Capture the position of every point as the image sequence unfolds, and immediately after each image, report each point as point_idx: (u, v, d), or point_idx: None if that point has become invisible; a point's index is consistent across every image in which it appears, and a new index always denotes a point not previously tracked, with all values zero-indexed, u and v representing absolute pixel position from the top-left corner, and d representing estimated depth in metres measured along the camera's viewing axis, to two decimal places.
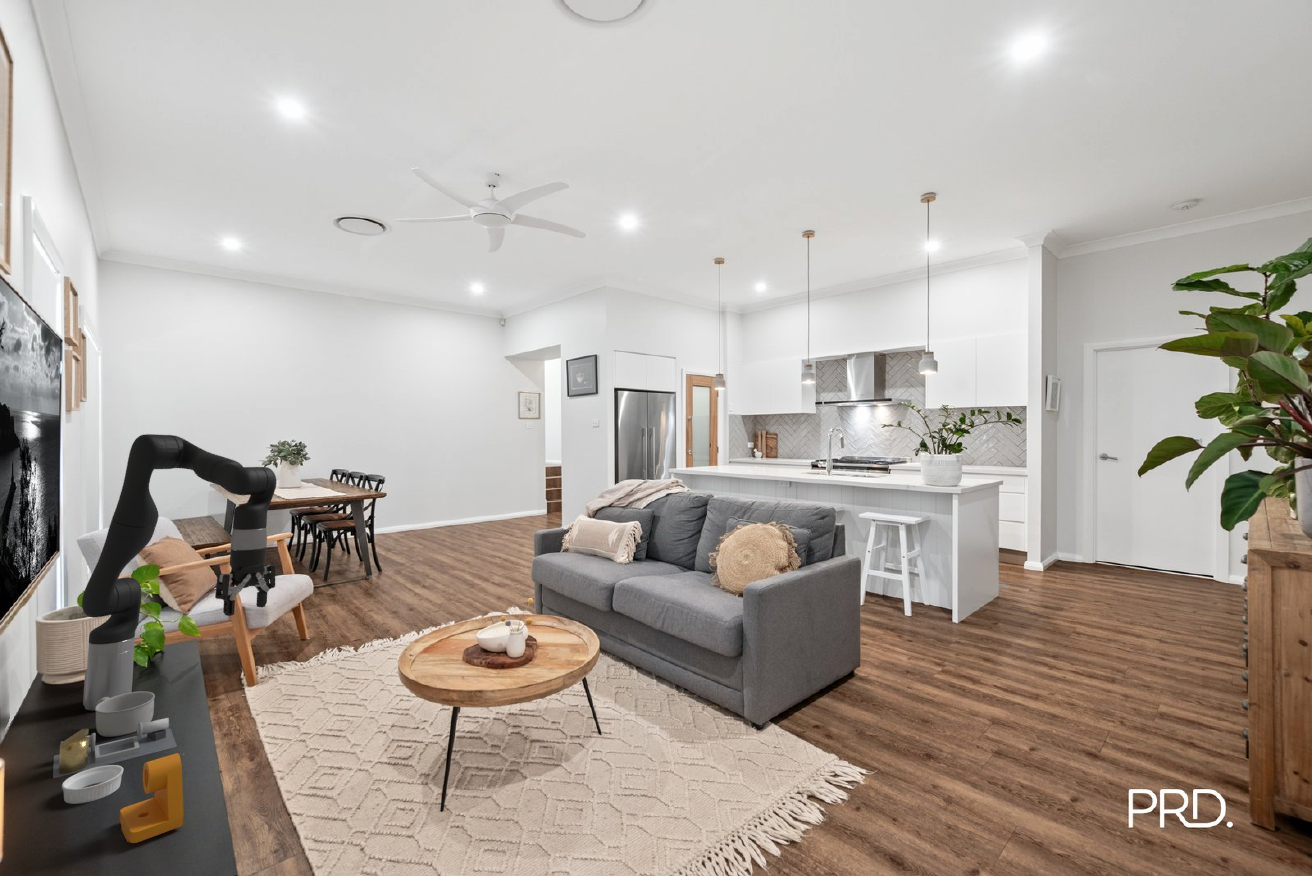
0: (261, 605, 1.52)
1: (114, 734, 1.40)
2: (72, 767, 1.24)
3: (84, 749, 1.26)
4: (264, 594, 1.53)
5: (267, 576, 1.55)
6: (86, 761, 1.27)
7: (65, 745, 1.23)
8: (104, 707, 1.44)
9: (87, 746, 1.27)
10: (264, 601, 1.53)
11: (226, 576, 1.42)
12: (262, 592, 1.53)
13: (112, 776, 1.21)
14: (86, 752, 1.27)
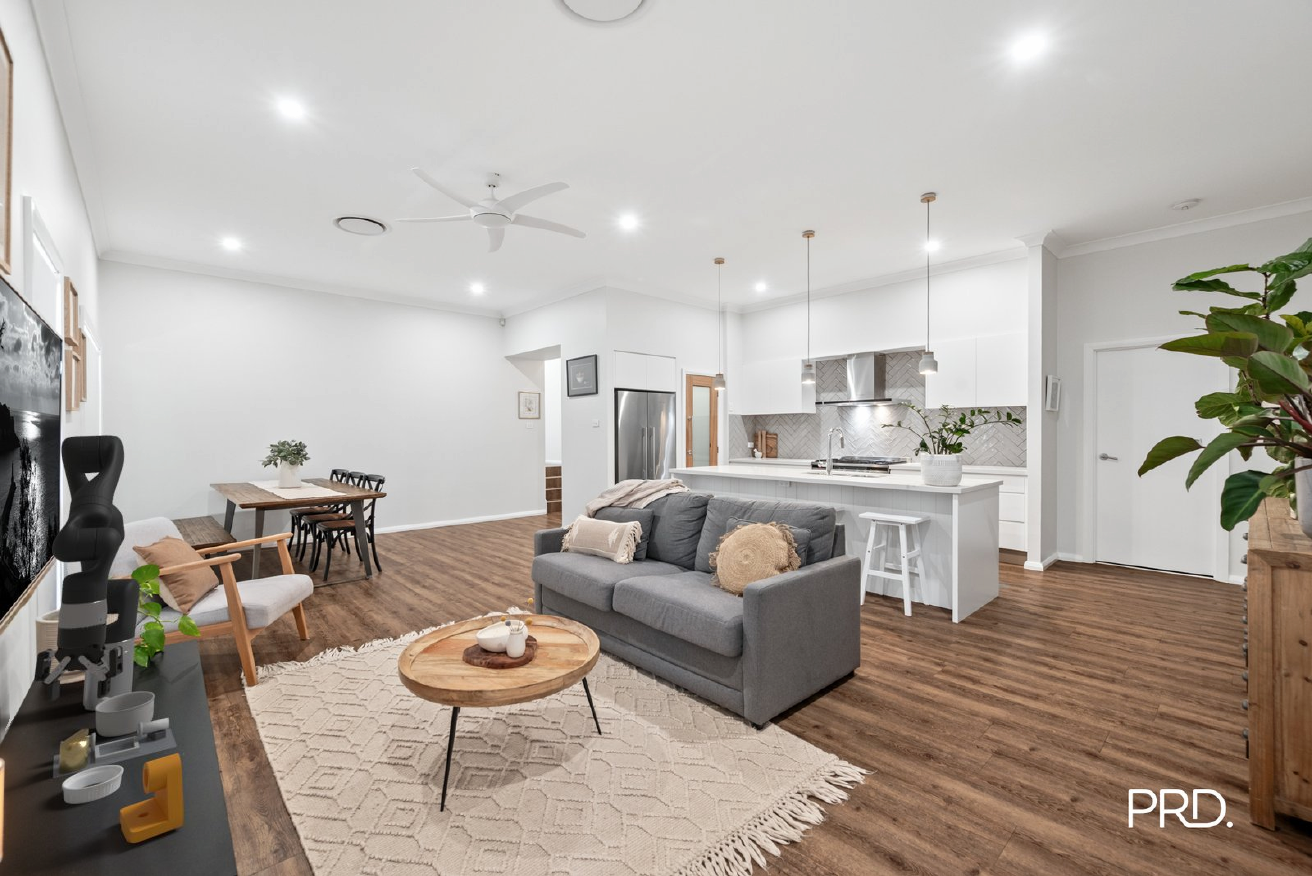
0: (57, 696, 1.26)
1: (114, 734, 1.40)
2: (72, 767, 1.24)
3: (84, 749, 1.26)
4: None
5: (47, 664, 1.25)
6: (86, 761, 1.27)
7: (65, 745, 1.23)
8: (104, 707, 1.44)
9: (87, 746, 1.27)
10: None
11: None
12: (57, 680, 1.26)
13: (112, 776, 1.21)
14: (86, 752, 1.27)
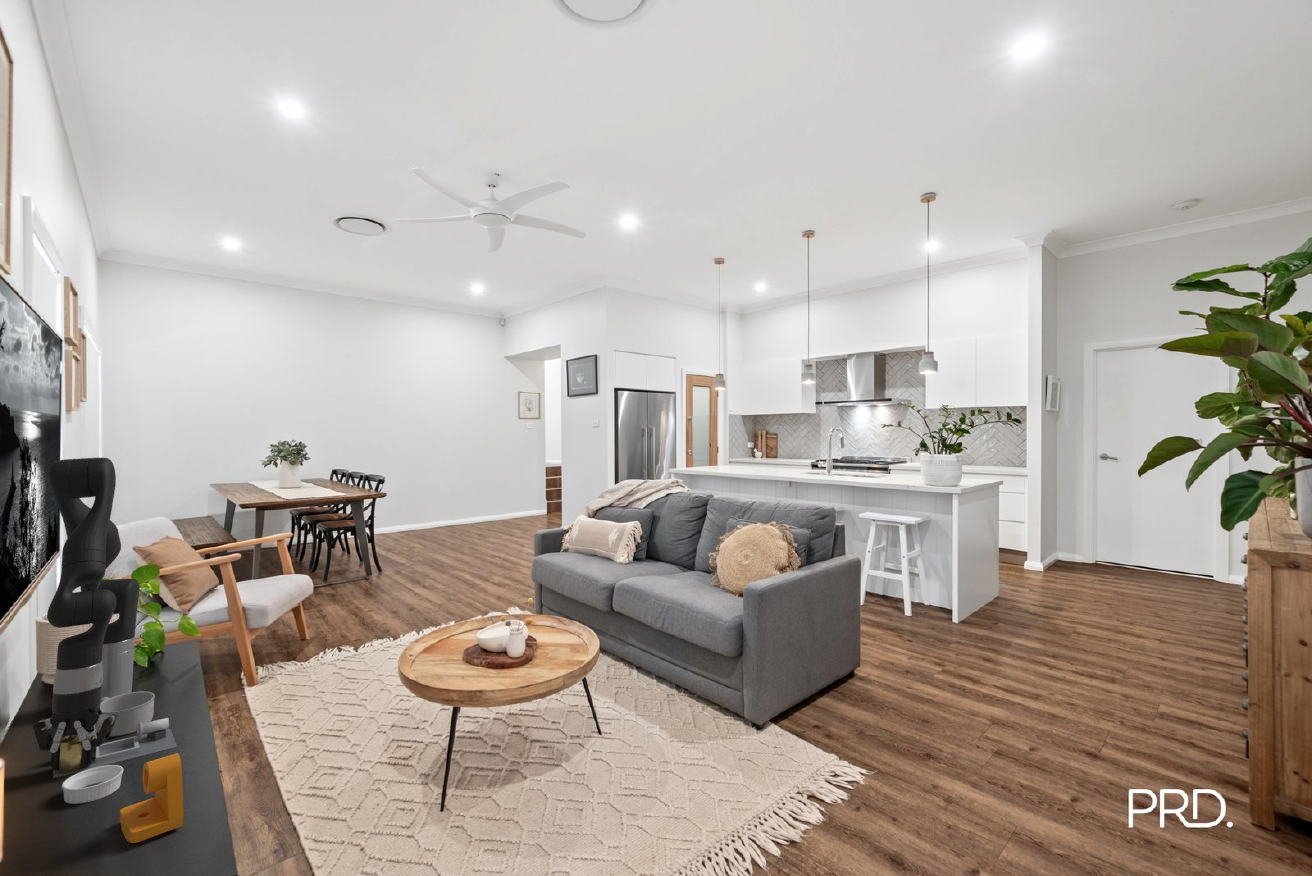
0: None
1: (114, 734, 1.40)
2: (72, 767, 1.24)
3: (84, 749, 1.26)
4: None
5: (47, 732, 1.25)
6: None
7: (65, 745, 1.23)
8: (104, 707, 1.44)
9: None
10: None
11: None
12: None
13: (112, 776, 1.21)
14: None
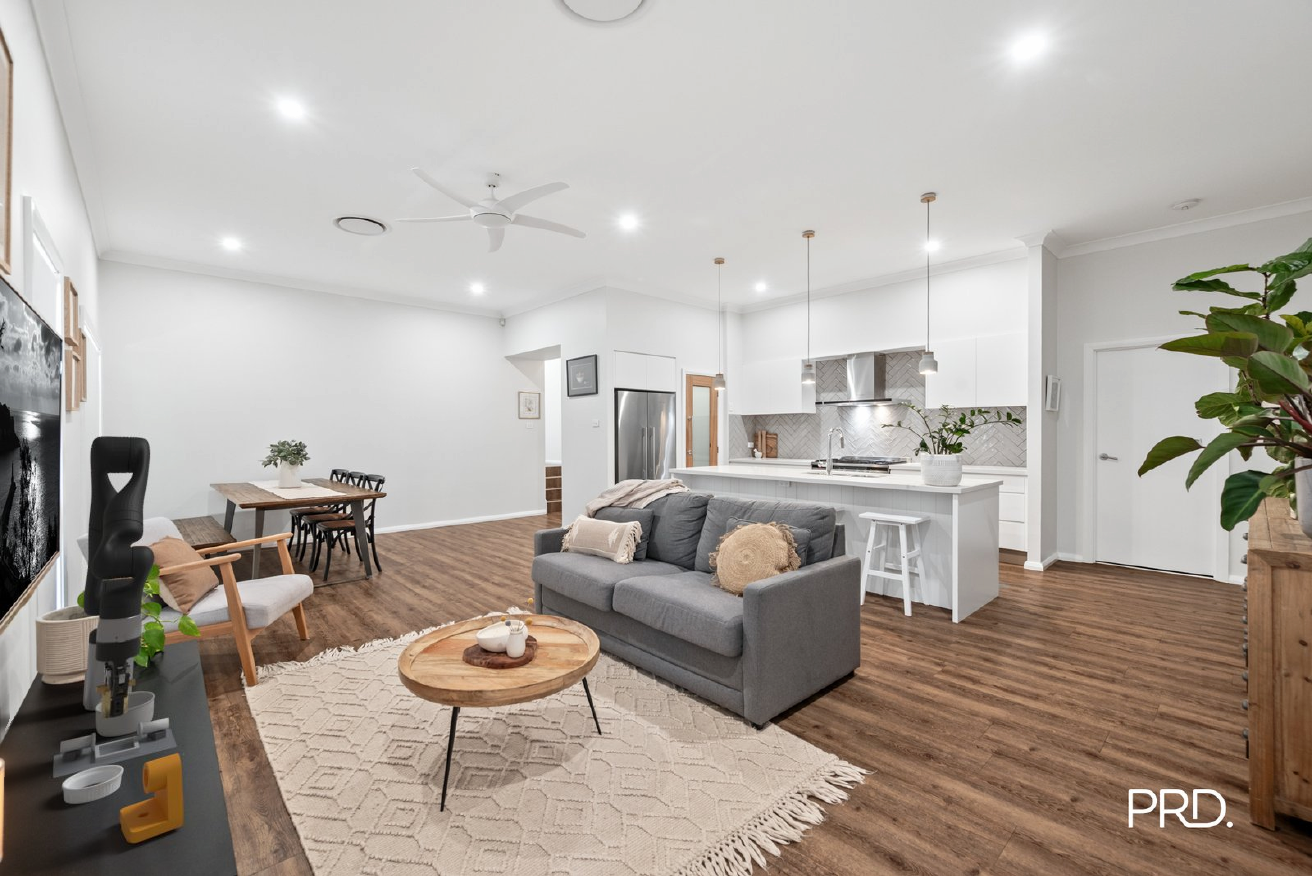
0: None
1: (114, 734, 1.40)
2: (103, 713, 1.31)
3: None
4: None
5: None
6: None
7: (96, 689, 1.31)
8: None
9: None
10: None
11: (129, 675, 1.30)
12: None
13: (112, 776, 1.21)
14: None
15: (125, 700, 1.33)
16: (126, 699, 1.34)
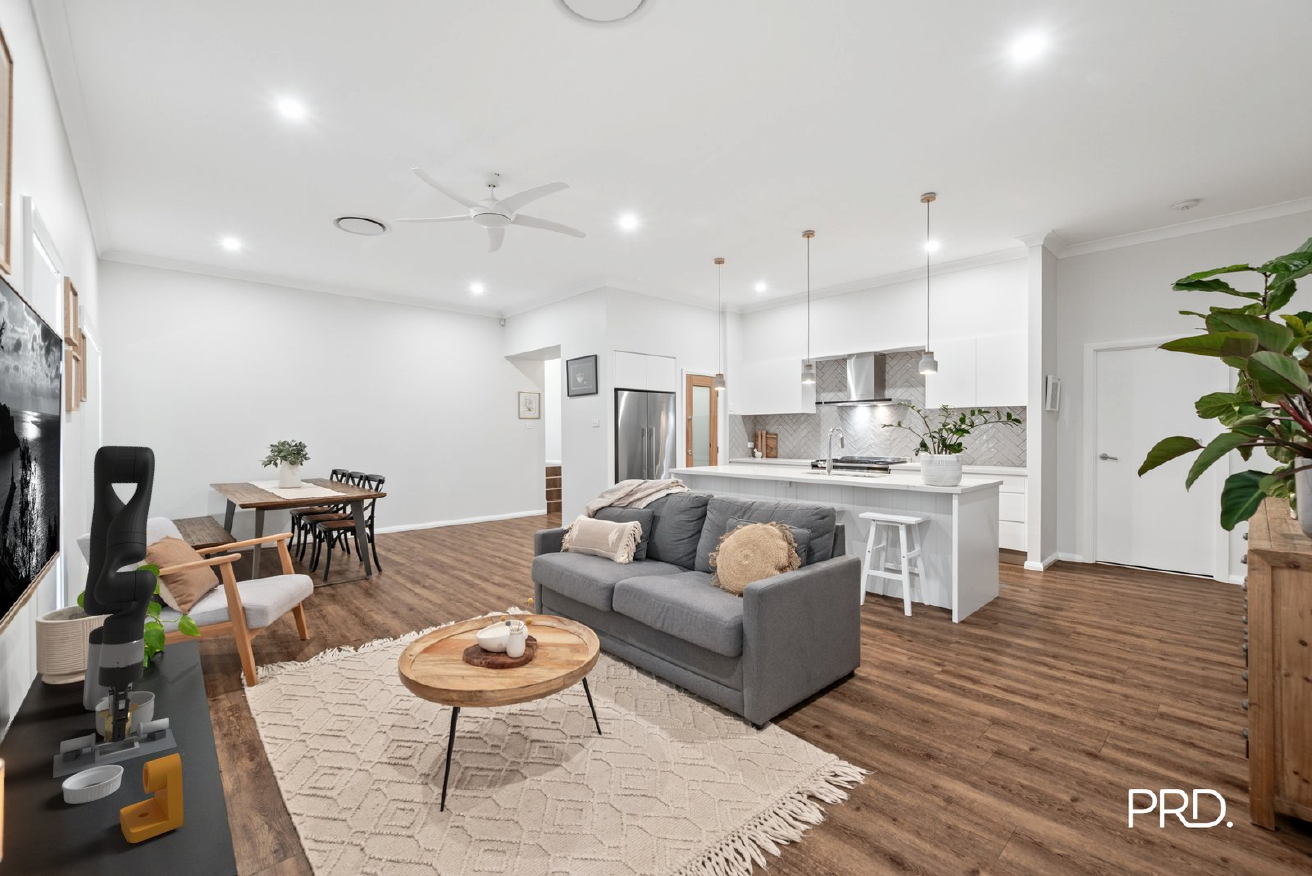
0: None
1: None
2: (105, 737, 1.31)
3: None
4: None
5: None
6: None
7: (99, 714, 1.31)
8: (104, 707, 1.44)
9: None
10: None
11: (129, 701, 1.30)
12: None
13: (112, 776, 1.21)
14: None
15: (127, 725, 1.33)
16: (128, 724, 1.34)
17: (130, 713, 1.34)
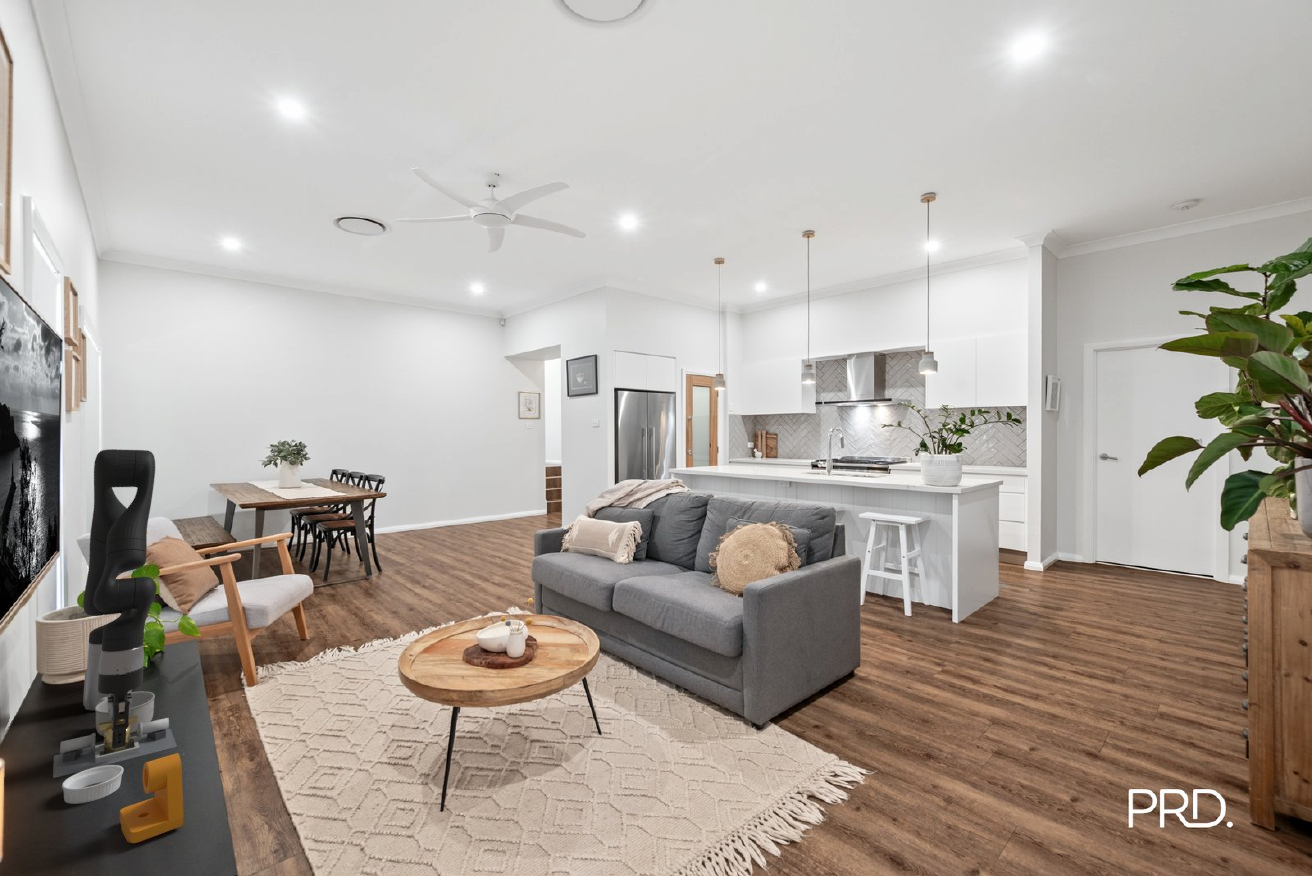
0: None
1: None
2: (105, 750, 1.31)
3: None
4: None
5: None
6: (118, 749, 1.32)
7: None
8: (104, 707, 1.44)
9: None
10: None
11: (129, 703, 1.30)
12: None
13: (112, 776, 1.21)
14: None
15: (127, 738, 1.34)
16: (128, 736, 1.34)
17: (129, 726, 1.34)
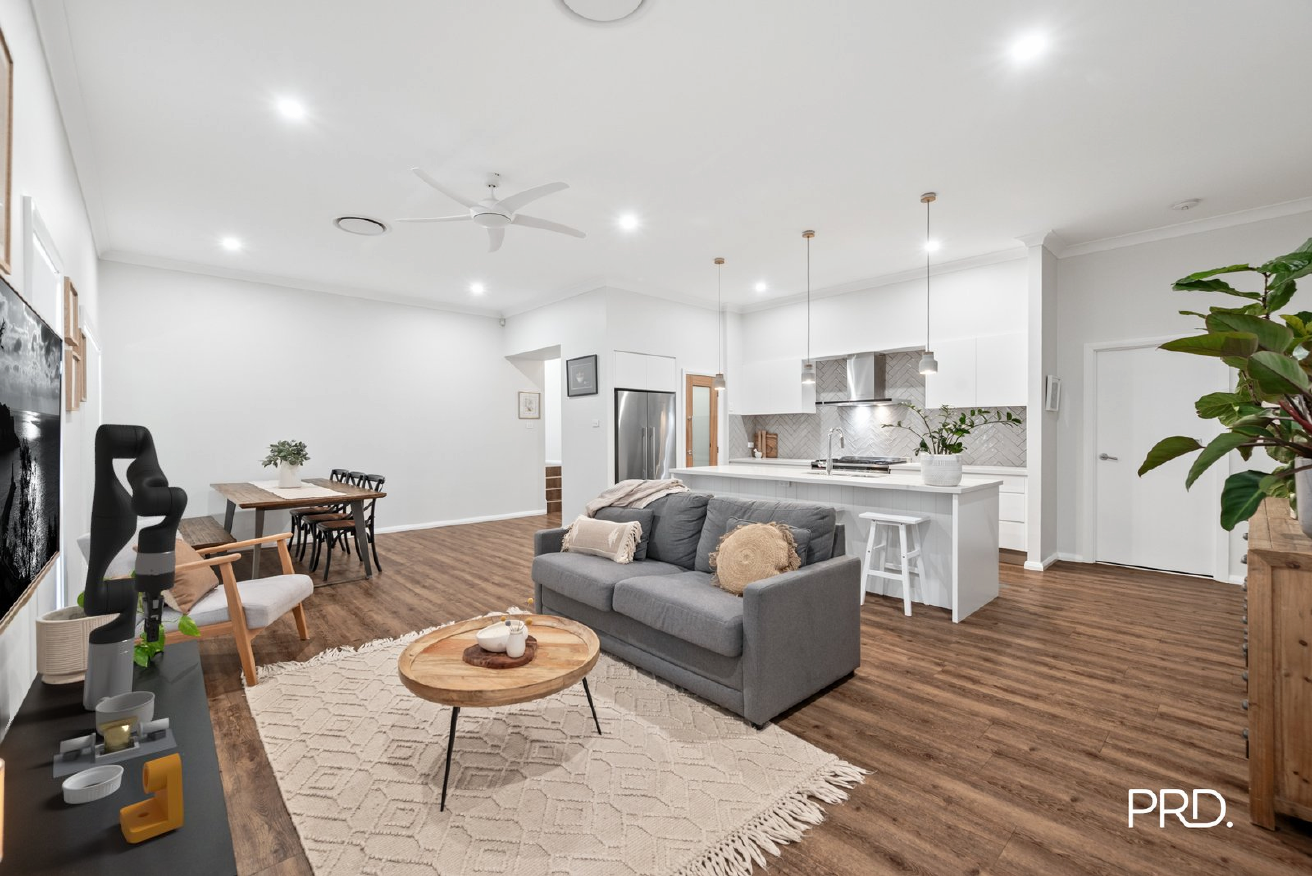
0: None
1: None
2: (105, 750, 1.31)
3: (114, 737, 1.32)
4: None
5: None
6: (118, 749, 1.32)
7: None
8: (104, 707, 1.44)
9: (119, 734, 1.32)
10: None
11: (162, 601, 1.39)
12: (153, 616, 1.46)
13: (112, 776, 1.21)
14: (117, 740, 1.32)
15: (126, 738, 1.34)
16: (128, 736, 1.34)
17: (129, 726, 1.34)
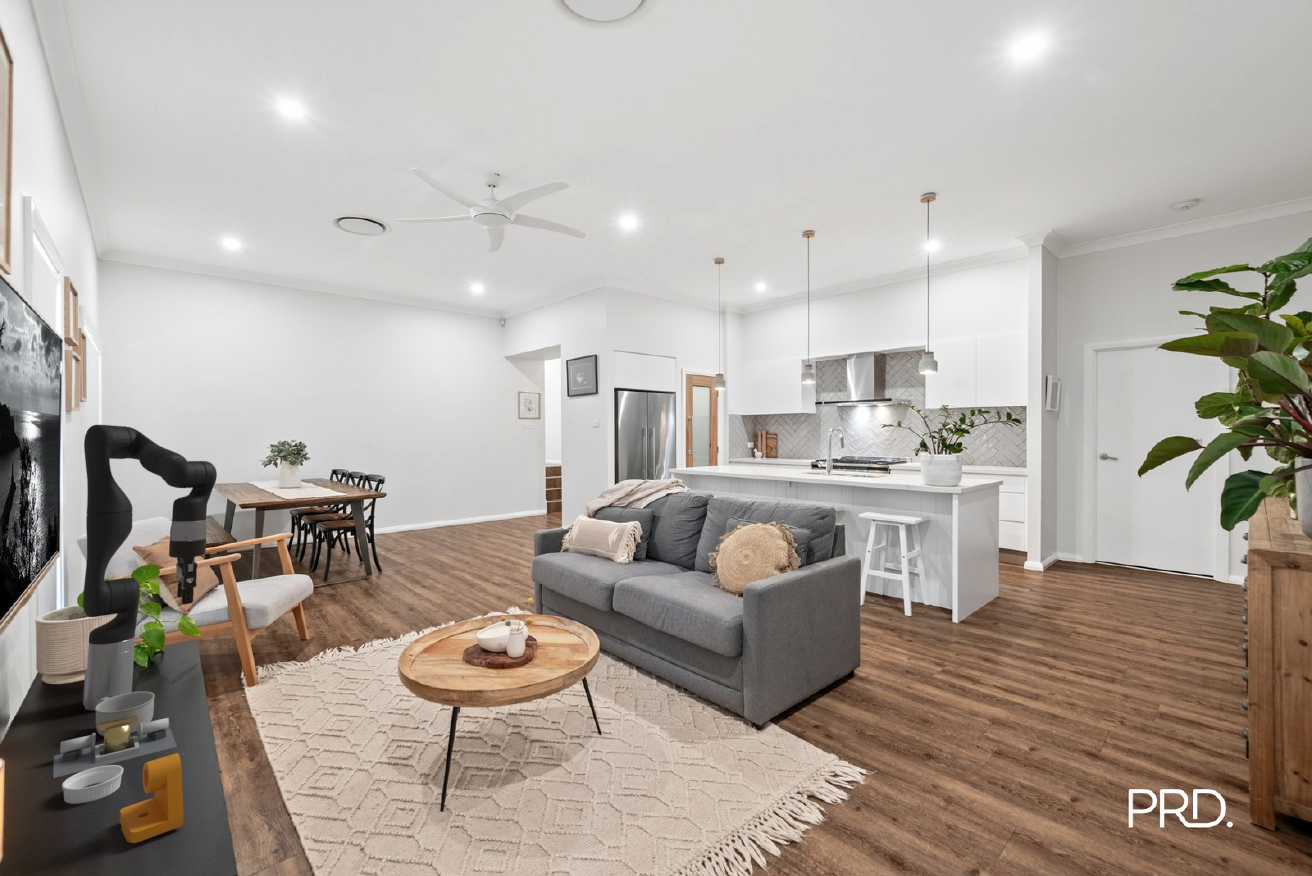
0: None
1: None
2: (105, 750, 1.31)
3: (114, 736, 1.32)
4: None
5: None
6: (118, 749, 1.32)
7: None
8: (104, 707, 1.44)
9: (119, 734, 1.32)
10: None
11: (196, 565, 1.50)
12: (185, 582, 1.57)
13: (112, 776, 1.21)
14: (117, 740, 1.32)
15: (127, 737, 1.34)
16: (128, 736, 1.34)
17: (129, 726, 1.34)
